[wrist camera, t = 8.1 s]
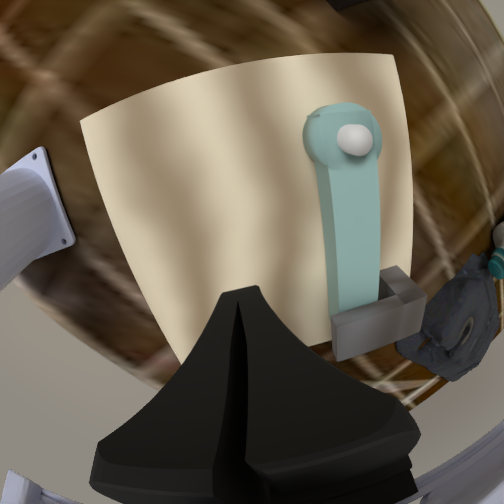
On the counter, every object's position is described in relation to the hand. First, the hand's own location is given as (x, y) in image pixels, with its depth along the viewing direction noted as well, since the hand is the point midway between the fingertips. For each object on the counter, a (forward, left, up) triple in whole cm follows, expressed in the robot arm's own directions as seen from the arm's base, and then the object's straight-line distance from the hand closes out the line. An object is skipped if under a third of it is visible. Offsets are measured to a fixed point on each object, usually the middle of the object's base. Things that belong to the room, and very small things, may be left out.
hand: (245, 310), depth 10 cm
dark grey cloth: (+25, -21, -10) cm, 33 cm away
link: (+7, -1, -8) cm, 11 cm away
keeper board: (+3, -1, -9) cm, 10 cm away
